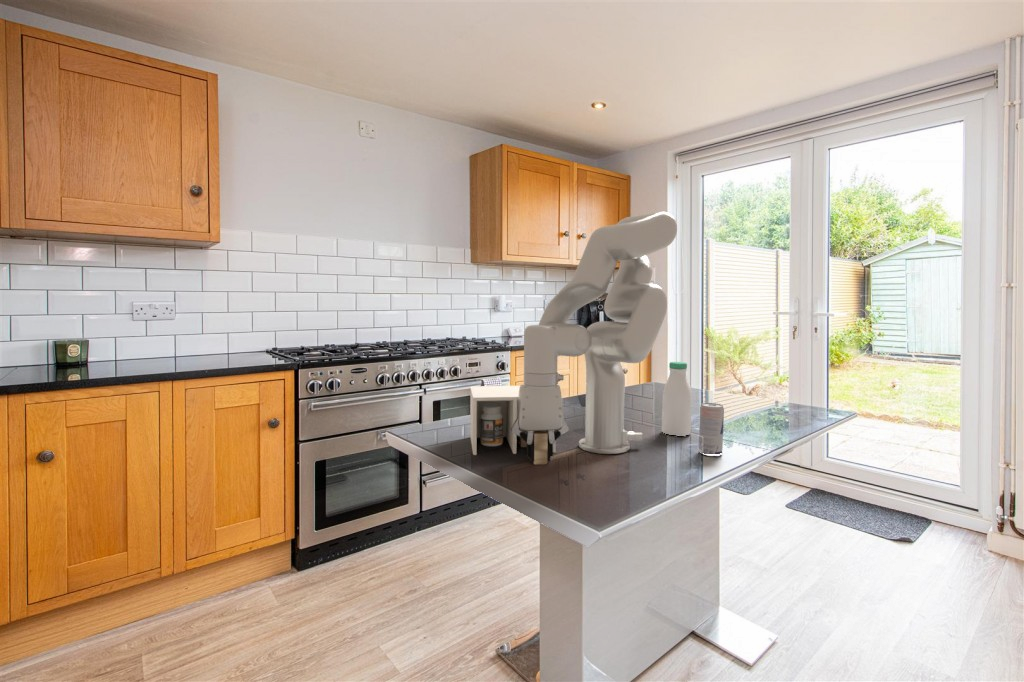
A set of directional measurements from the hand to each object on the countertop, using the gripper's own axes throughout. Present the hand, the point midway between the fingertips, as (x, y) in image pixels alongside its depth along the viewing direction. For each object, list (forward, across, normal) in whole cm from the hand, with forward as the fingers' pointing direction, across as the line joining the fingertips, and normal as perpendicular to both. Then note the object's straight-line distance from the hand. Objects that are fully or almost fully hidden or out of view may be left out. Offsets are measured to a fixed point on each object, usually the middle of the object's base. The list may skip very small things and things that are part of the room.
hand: (539, 459), depth 117 cm
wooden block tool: (+1, 0, -8) cm, 8 cm away
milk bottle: (+1, -42, -21) cm, 47 cm away
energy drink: (+1, -42, -2) cm, 42 cm away
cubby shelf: (+1, +5, -15) cm, 16 cm away
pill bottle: (+1, +10, -16) cm, 19 cm away
